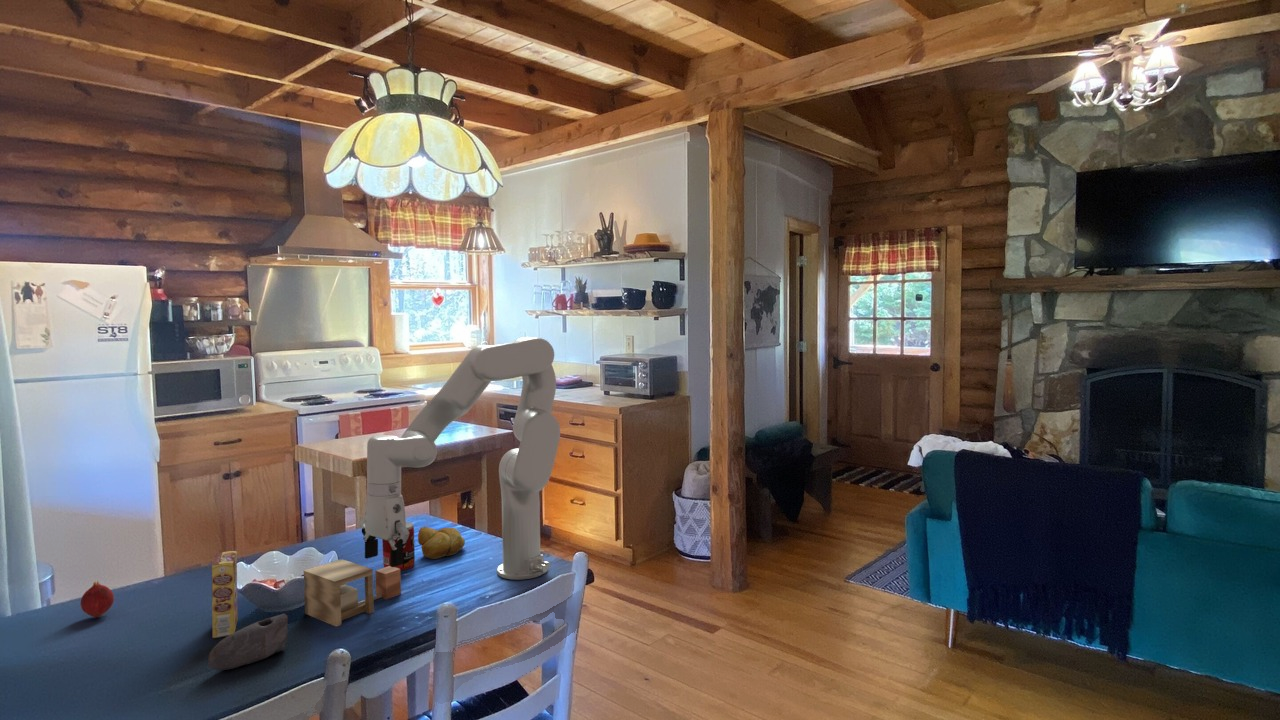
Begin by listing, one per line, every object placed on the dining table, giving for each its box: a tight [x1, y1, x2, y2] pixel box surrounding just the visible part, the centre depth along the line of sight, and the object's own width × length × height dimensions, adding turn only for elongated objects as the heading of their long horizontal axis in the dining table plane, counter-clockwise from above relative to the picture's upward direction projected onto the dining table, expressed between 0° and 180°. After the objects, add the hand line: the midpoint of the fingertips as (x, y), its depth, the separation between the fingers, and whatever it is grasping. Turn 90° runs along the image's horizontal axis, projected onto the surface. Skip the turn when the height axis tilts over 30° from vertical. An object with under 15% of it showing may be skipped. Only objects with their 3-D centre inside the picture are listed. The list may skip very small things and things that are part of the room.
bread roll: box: [417, 526, 466, 560], centre depth 195 cm, size 13×10×8 cm
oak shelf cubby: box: [303, 558, 375, 627], centre depth 155 cm, size 12×9×10 cm
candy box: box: [211, 550, 239, 639], centre depth 148 cm, size 9×4×15 cm, turn 26°
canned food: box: [382, 521, 416, 572], centre depth 185 cm, size 8×8×11 cm
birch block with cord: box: [340, 566, 402, 612], centre depth 161 cm, size 5×16×6 cm, turn 145°
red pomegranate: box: [80, 580, 115, 618], centre depth 154 cm, size 6×6×8 cm
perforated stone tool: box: [207, 613, 289, 671], centre depth 134 cm, size 15×5×7 cm, turn 141°
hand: (383, 561), depth 165 cm, fingers open, 9 cm apart
